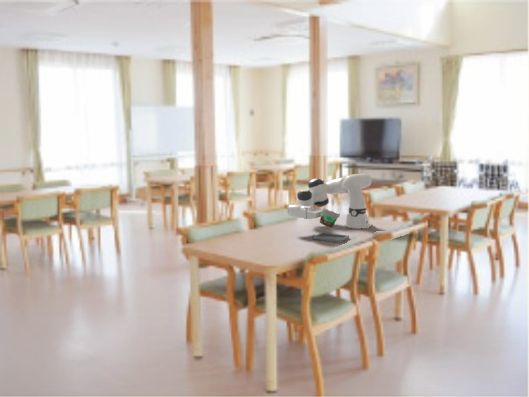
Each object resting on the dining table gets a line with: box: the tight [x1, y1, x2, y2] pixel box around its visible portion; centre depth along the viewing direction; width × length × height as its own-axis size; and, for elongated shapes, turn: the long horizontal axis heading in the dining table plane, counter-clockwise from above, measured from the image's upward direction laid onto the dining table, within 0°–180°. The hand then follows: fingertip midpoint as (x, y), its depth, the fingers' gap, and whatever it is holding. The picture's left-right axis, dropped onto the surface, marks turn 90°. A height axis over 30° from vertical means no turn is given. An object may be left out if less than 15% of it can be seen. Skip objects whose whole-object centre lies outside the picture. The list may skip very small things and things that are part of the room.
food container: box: [319, 207, 341, 228], centre depth 349 cm, size 12×6×10 cm, turn 99°
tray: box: [312, 232, 350, 244], centre depth 351 cm, size 15×19×2 cm
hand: (328, 214), depth 350 cm, fingers open, 2 cm apart
